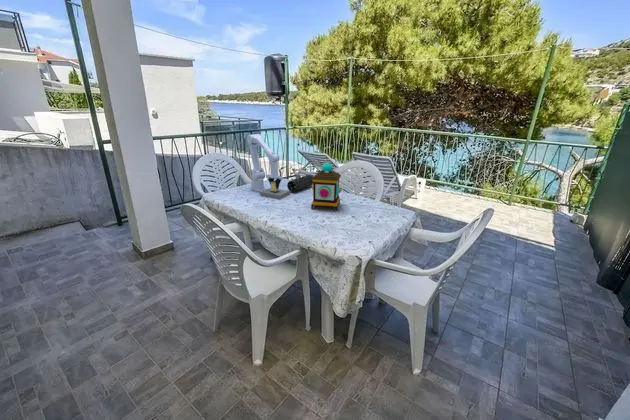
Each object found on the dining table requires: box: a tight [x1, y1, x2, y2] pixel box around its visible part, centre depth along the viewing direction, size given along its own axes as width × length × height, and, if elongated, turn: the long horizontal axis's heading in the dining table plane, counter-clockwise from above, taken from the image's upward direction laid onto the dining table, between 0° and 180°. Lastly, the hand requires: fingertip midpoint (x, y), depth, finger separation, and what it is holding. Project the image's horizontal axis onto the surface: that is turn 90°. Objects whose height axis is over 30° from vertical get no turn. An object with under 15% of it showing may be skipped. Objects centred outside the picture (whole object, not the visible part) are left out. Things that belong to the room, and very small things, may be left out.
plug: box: [270, 180, 280, 192], centre depth 210 cm, size 4×4×7 cm
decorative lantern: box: [310, 162, 342, 212], centre depth 185 cm, size 20×20×30 cm
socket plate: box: [259, 187, 291, 200], centre depth 212 cm, size 18×14×3 cm
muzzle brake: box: [286, 174, 315, 194], centre depth 228 cm, size 10×28×10 cm, turn 147°
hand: (275, 187), depth 211 cm, fingers closed on plug, 4 cm apart
